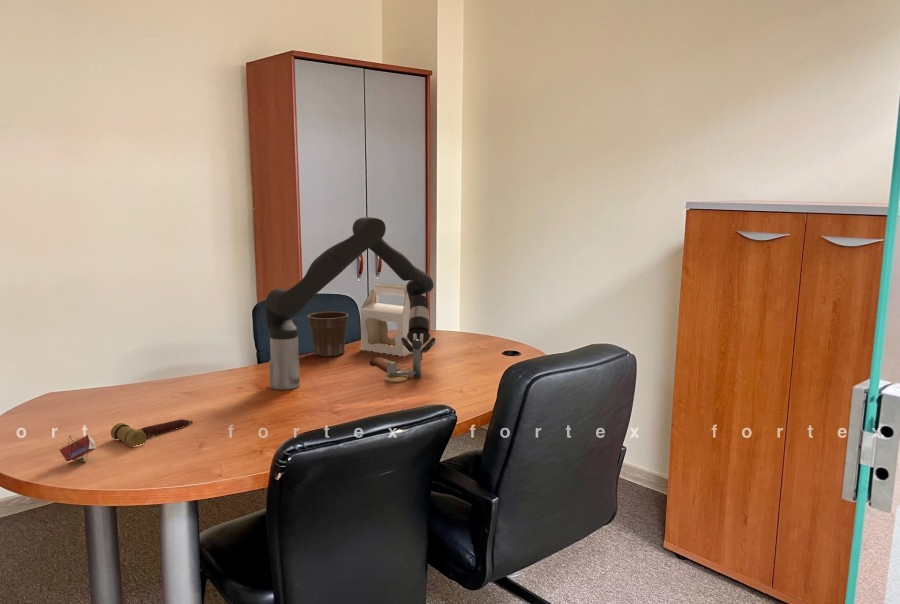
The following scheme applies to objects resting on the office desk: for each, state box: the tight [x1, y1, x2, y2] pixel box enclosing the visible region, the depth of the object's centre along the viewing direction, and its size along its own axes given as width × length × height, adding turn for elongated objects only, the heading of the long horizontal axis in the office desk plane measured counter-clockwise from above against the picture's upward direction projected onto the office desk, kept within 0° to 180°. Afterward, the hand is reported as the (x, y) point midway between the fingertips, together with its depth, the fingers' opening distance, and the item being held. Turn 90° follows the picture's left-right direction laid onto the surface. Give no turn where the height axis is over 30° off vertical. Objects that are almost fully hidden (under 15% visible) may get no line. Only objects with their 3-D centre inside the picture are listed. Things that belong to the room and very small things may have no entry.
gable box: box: [360, 282, 413, 357], centre depth 282 cm, size 22×13×28 cm, turn 58°
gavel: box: [110, 418, 194, 448], centre depth 186 cm, size 21×5×10 cm
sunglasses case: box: [369, 356, 402, 373], centre depth 253 cm, size 18×7×7 cm
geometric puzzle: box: [59, 434, 96, 462], centre depth 167 cm, size 7×7×8 cm
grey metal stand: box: [384, 339, 422, 384], centre depth 235 cm, size 13×8×14 cm, turn 111°
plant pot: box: [307, 311, 349, 358], centre depth 277 cm, size 16×16×16 cm
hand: (417, 361), depth 243 cm, fingers closed
